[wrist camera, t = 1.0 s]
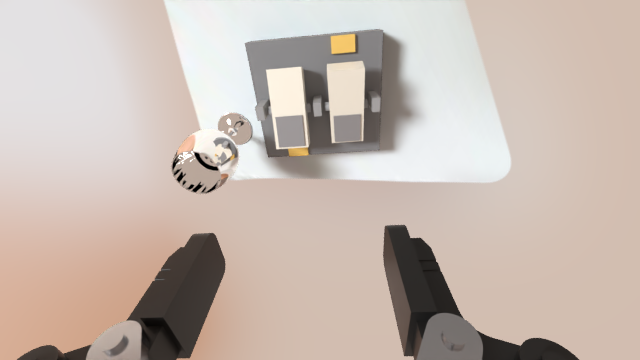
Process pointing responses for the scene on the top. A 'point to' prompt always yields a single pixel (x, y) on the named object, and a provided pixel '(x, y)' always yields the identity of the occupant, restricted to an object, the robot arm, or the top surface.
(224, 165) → the wineglass
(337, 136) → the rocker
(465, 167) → the top surface
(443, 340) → the robot arm
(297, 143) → the block
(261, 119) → the switch unit
